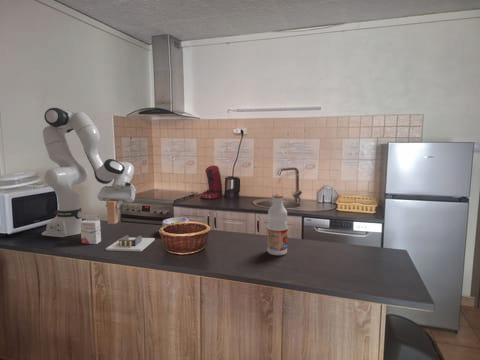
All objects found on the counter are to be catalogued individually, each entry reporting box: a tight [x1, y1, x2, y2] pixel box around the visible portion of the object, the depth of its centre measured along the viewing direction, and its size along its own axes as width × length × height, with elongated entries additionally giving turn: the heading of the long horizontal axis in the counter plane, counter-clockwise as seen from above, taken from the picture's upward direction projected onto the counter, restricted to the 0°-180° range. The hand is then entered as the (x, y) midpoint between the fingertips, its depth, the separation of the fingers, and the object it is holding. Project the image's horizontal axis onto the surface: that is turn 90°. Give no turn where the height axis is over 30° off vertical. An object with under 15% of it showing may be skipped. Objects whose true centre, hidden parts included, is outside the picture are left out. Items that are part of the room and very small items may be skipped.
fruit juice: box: [266, 193, 288, 256], centre depth 148 cm, size 9×9×28 cm
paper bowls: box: [161, 217, 190, 227], centre depth 181 cm, size 15×15×8 cm
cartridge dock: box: [105, 234, 156, 252], centre depth 161 cm, size 18×18×4 cm
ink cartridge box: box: [80, 214, 102, 245], centre depth 164 cm, size 9×5×15 cm, turn 84°
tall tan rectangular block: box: [106, 201, 119, 225], centre depth 170 cm, size 4×4×12 cm
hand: (111, 207), depth 169 cm, fingers closed on tall tan rectangular block, 4 cm apart
